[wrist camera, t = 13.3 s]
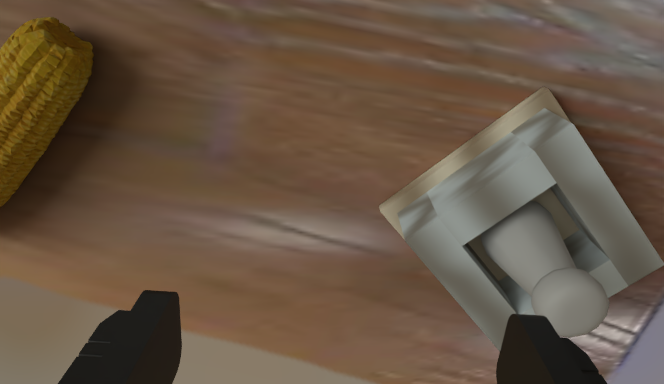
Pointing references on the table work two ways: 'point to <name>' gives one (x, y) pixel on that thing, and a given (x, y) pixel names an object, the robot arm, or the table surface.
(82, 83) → the food
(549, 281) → the salt shaker
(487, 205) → the caddy
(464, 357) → the table surface
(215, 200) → the table surface
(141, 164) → the table surface
